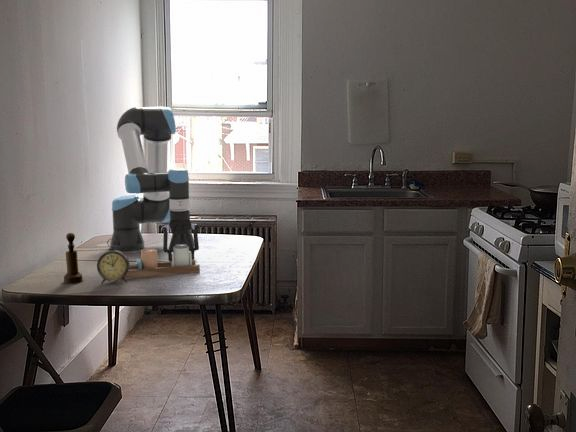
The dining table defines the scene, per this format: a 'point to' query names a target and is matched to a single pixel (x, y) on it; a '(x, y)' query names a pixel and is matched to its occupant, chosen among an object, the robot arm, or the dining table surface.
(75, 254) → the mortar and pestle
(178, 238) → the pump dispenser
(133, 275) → the lane
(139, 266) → the pusher
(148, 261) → the jar in lane
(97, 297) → the dining table surface
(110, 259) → the alarm clock
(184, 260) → the jar
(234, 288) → the dining table surface
